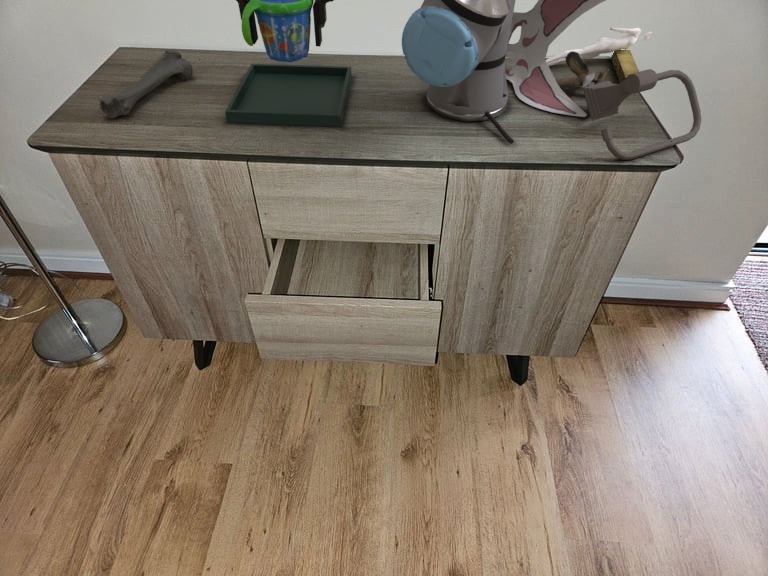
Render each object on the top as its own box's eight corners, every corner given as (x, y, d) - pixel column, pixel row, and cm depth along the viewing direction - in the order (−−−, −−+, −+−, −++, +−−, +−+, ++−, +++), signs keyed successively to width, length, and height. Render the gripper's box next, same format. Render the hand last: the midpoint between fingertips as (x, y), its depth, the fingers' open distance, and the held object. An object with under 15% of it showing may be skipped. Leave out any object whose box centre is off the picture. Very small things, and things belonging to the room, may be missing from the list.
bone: (174, 71, 108) (165, 41, 104) (201, 76, 106) (193, 45, 102) (97, 119, 94) (84, 86, 89) (127, 125, 92) (114, 92, 88)
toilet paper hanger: (619, 163, 83) (594, 71, 81) (572, 177, 93) (549, 96, 92) (713, 132, 90) (692, 47, 89) (660, 149, 100) (640, 72, 99)
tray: (351, 77, 107) (351, 66, 105) (340, 127, 93) (340, 115, 91) (253, 74, 107) (251, 63, 106) (227, 123, 93) (224, 111, 92)
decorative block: (621, 89, 104) (639, 90, 104) (625, 77, 103) (643, 78, 102) (610, 58, 115) (626, 60, 115) (613, 47, 113) (630, 48, 113)
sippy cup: (313, 37, 100) (308, -22, 93) (340, 56, 94) (337, -6, 87) (236, 54, 94) (224, -8, 87) (260, 75, 88) (250, 11, 81)
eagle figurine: (605, 81, 104) (565, 62, 106) (613, 59, 97) (570, 39, 99) (583, 112, 104) (544, 91, 106) (590, 92, 97) (548, 70, 99)
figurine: (552, 66, 104) (666, 29, 105) (547, 48, 104) (661, 11, 105) (533, 84, 114) (637, 49, 116) (528, 68, 114) (632, 33, 116)
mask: (469, 104, 119) (598, 126, 103) (441, 94, 110) (580, 116, 93) (495, -5, 113) (638, 0, 97) (469, -25, 103) (622, -24, 87)
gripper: (349, -115, 79) (353, 36, 95) (198, -119, 80) (227, 32, 95) (344, -106, 74) (350, 53, 90) (182, -110, 74) (215, 48, 90)
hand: (286, 42), depth 93 cm, fingers closed on sippy cup, 11 cm apart
